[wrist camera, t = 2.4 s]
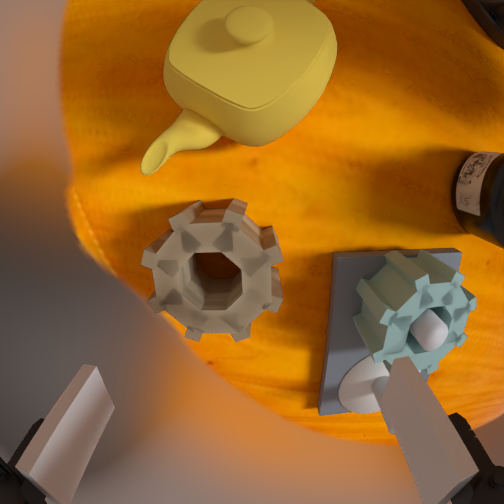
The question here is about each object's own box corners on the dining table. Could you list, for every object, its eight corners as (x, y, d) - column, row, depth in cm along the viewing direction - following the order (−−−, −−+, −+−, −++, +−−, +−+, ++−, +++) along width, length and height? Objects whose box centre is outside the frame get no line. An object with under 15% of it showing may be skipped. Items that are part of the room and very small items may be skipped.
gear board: (333, 246, 25) (364, 284, 17) (454, 243, 25) (506, 271, 17) (316, 410, 32) (326, 464, 24) (414, 394, 31) (437, 437, 23)
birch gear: (161, 202, 24) (133, 215, 19) (276, 196, 24) (282, 207, 18) (174, 306, 27) (156, 340, 22) (278, 304, 27) (283, 341, 21)
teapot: (239, 204, 24) (226, 234, 14) (138, 136, 23) (67, 126, 13) (356, 50, 20) (407, -2, 10) (255, -10, 18) (253, -82, 8)
